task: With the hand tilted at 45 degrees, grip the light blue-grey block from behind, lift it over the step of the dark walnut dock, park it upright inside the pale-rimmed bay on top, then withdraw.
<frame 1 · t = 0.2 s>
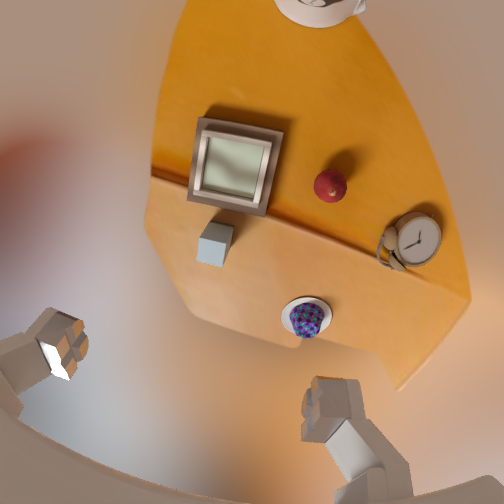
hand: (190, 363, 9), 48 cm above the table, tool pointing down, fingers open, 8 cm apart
light blue-grey block: (220, 234, 61), on the table
onion: (327, 180, 53), on the table
purple and white hat: (306, 315, 68), on the table
dock: (235, 164, 53), on the table
alarm clock: (405, 238, 56), on the table
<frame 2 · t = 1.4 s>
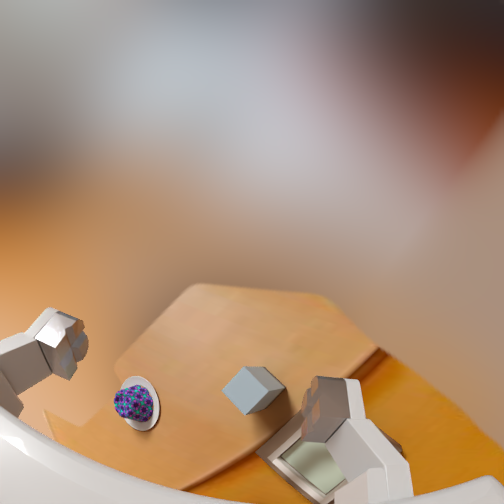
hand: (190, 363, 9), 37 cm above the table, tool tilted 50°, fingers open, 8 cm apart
light blue-grey block: (265, 387, 44), on the table
purple and white hat: (140, 403, 52), on the table
dock: (329, 450, 36), on the table
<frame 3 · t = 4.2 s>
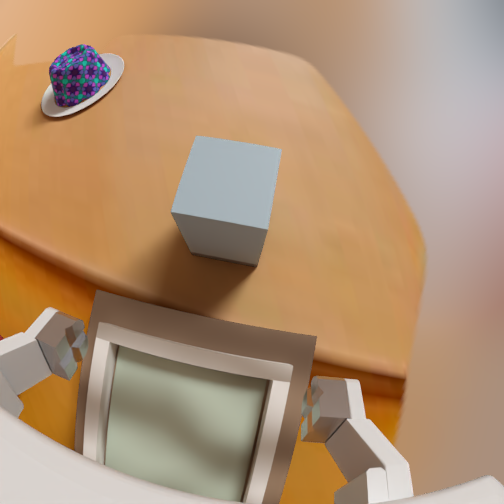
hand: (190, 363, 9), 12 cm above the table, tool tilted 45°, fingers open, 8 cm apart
light blue-grey block: (230, 230, 23), on the table
purple and white hat: (83, 86, 28), on the table
dock: (185, 420, 19), on the table
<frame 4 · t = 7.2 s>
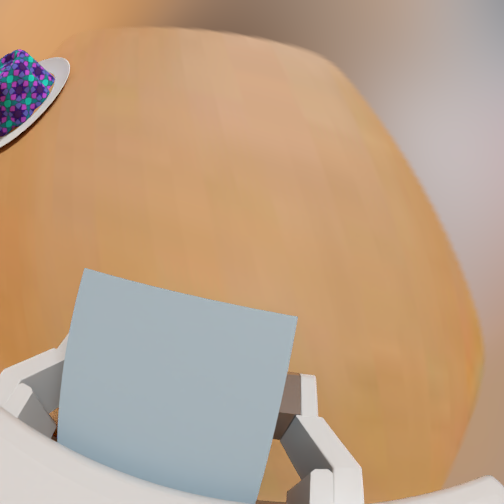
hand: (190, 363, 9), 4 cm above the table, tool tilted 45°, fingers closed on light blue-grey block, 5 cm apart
light blue-grey block: (202, 367, 13), on the table, touching gripper
purple and white hat: (22, 105, 18), on the table
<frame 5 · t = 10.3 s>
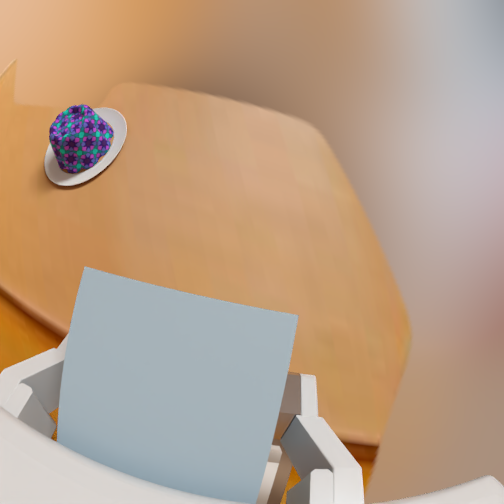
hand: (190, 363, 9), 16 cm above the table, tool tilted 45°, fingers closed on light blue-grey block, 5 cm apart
light blue-grey block: (202, 367, 13), point 12 cm above the table, touching gripper
purple and white hat: (85, 147, 31), on the table
dock: (197, 475, 21), on the table
when the fingers open (9 cm above the table, at t = 13.5 s): light blue-grey block drops 1 cm, resting on dock.
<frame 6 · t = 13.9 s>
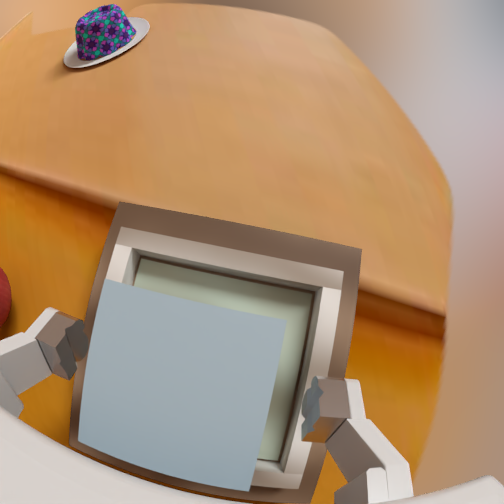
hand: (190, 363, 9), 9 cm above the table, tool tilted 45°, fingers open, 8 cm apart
light blue-grey block: (204, 365, 14), point 3 cm above the table, touching dock
onion: (9, 303, 17), on the table
purple and white hat: (106, 44, 27), on the table
dock: (211, 360, 17), on the table
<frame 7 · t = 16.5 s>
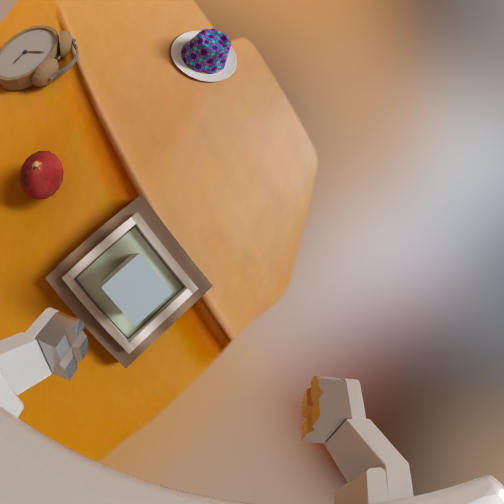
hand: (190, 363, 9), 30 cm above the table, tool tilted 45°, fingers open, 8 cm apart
light blue-grey block: (129, 283, 33), point 3 cm above the table, touching dock
onion: (46, 182, 31), on the table
purple and white hat: (203, 57, 42), on the table
dock: (127, 281, 36), on the table
alarm clock: (36, 64, 28), on the table
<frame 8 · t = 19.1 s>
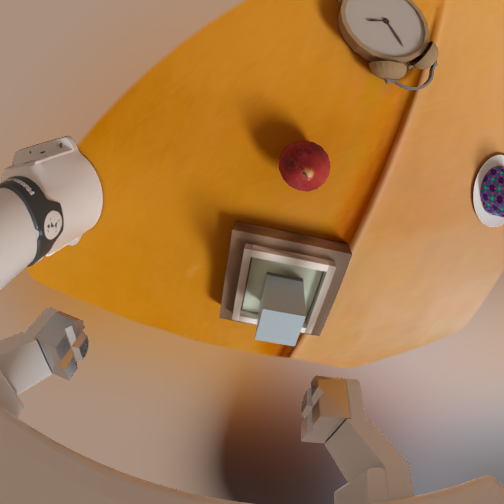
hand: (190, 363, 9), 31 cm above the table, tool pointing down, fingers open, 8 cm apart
light blue-grey block: (281, 290, 41), point 3 cm above the table, touching dock
onion: (302, 159, 36), on the table
purple and white hat: (496, 190, 33), on the table
dock: (281, 277, 44), on the table
alarm clock: (385, 39, 27), on the table
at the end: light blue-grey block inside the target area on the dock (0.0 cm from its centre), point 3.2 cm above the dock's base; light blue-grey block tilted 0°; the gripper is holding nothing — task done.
